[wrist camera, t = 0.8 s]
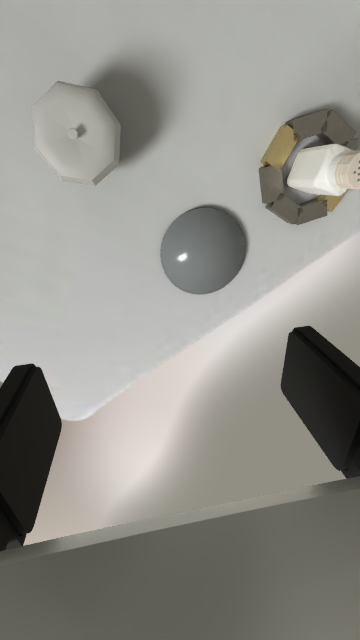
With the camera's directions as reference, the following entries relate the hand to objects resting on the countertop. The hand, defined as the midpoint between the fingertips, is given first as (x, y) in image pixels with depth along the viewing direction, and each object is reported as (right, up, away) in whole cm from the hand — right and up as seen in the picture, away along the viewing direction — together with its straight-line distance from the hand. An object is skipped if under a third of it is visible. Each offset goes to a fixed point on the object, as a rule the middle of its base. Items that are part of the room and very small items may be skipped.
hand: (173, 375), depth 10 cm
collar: (+15, +20, +22) cm, 33 cm away
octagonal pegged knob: (-10, +21, +18) cm, 29 cm away
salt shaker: (+15, +20, +22) cm, 33 cm away
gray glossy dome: (+3, +11, +25) cm, 27 cm away
